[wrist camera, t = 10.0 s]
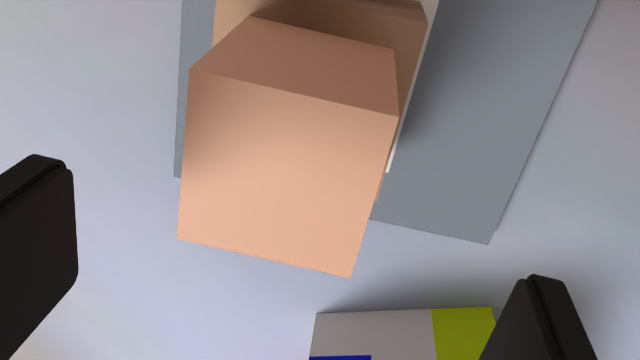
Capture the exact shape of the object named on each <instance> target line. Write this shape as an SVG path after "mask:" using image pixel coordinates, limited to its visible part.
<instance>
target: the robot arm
mask: <svg viewBox="0 0 640 360" xmlns="http://www.w3.org/2000/svg"><path fill="white" fill-rule="evenodd" d="M77 275H78V254H77V237H76V220H75V202H74V185H73V174H72V172H71V170H69V169H67V168H66V165H65V163H64V162H63V161H61V160H58V159H54V158H49V157H45V156H41V155H37V154H32V155H30V156H28V157H26V158H25V159H23V160H22V161H20V162H19V163H17V164H16V165H14V166H13V167H11V168H10V169H8V170H7V171H5V172H4V173H2V174H1V175H0V360H9V359H10V357H11V356H12V355H13V354H14V353H15V352H16V351H17V349H18V348H19V347H20V346H21V345H22V344H23V342H24V341H25V340H26V339H27V338H28V337H29V336H30V334H31V333H32V332H33V331H34V330H35V329H36V328H37V326H38V325H39V324H40V323H41V322H42V321H43V320H44V318H45V317H46V316H47V315H48V314H49V313H50V311H51V310H52V309H53V308H54V307H55V306H56V305H57V303H58V302H59V301H60V300H61V299H62V298H63V297H64V295H65V294H66V293H67V292H68V291H69V290H70V289H71V287H72V286H73V285H74V283H75V281H76V278H77ZM478 360H597V357H596V355H595V353H594V350H593V348H592V346H591V343H590V341H589V339H588V337H587V334H586V332H585V330H584V327H583V325H582V323H581V321H580V318H579V316H578V314H577V311H576V309H575V307H574V304H573V302H572V300H571V298H570V295H569V293H568V291H567V288H566V286H565V284H564V283H563V282H562V281H560V280H556V279H552V278H548V277H544V276H540V275H536V274H532V275H530V276H529V277H528V278H527V279H519V280H518V282H517V283H516V285H515V287H514V289H513V291H512V293H511V295H510V297H509V299H508V301H507V303H506V305H505V307H504V309H503V311H502V313H501V315H500V317H499V319H498V321H497V323H496V325H495V327H494V329H493V331H492V333H491V335H490V337H489V339H488V341H487V343H486V345H485V347H484V349H483V351H482V353H481V355H480V357H479V359H478Z"/></svg>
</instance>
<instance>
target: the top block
mask: <svg viewBox="0 0 640 360" xmlns="http://www.w3.org/2000/svg"><path fill="white" fill-rule="evenodd" d="M398 120H399V105H398V92H397V80H396V67H395V54H394V49H390V48H386V47H382V46H377V45H373V44H369V43H365V42H360V41H356V40H352V39H347V38H343V37H339V36H334V35H330V34H326V33H321V32H317V31H313V30H308V29H304V28H300V27H295V26H291V25H287V24H283V23H278V22H274V21H270V20H265V19H261V18H257V17H252V16H247V17H246V18H245V19H244V20H243V21H242V22H241V23H240V24H238V25H237V26H236V27H235V28H234V29H233V30H232V31H231V32H230V33H228V34H227V35H226V36H225V37H224V38H223V39H222V40H221V41H219V42H218V43H217V44H216V45H215V46H214V47H213V48H212V49H211V50H209V51H208V52H207V53H206V54H205V55H204V56H203V57H202V58H201V59H199V60H198V61H197V62H196V63H195V64H194V65H193V66H192V67H190V68H189V77H188V91H187V105H186V119H185V132H184V146H183V160H182V174H181V188H180V201H179V215H178V229H177V239H180V240H184V241H189V242H193V243H198V244H202V245H206V246H211V247H215V248H219V249H224V250H228V251H232V252H237V253H241V254H246V255H250V256H254V257H259V258H263V259H267V260H272V261H276V262H281V263H285V264H289V265H294V266H298V267H302V268H307V269H311V270H316V271H320V272H324V273H329V274H333V275H337V276H342V277H346V278H351V275H352V272H353V269H354V265H355V262H356V259H357V255H358V252H359V249H360V245H361V242H362V239H363V236H364V232H365V229H366V226H367V222H368V219H369V216H370V213H371V209H372V206H373V203H374V199H375V196H376V193H377V189H378V186H379V183H380V180H381V176H382V173H383V170H384V166H385V163H386V160H387V157H388V153H389V150H390V147H391V143H392V140H393V137H394V134H395V130H396V127H397V124H398Z"/></svg>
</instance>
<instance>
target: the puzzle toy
mask: <svg viewBox="0 0 640 360" xmlns="http://www.w3.org/2000/svg"><path fill="white" fill-rule="evenodd" d="M495 325H496V322H495V318H494V314H493V310H492V306H488V307H463V308H438V309H414V310H389V311H364V312H339V313H316V318H315V324H314V331H313V337H312V343H311V350H310V356H309V360H478V359H479V357H480V355H481V353H482V351H483V349H484V347H485V345H486V343H487V341H488V339H489V337H490V335H491V333H492V331H493V329H494V327H495Z"/></svg>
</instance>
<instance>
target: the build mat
mask: <svg viewBox="0 0 640 360" xmlns="http://www.w3.org/2000/svg"><path fill="white" fill-rule="evenodd" d="M416 1H420V2H421V4H422V7H423V10H424V13H425V15H426V18H427V21H428V28H427V31H426V34H425V38H424V41H423V45H422V48H421V52H420V55H419V58H418V62H417V65H416V69H415V72H414V76H413V79H412V82H411V86H410V89H409V93H408V96H407V100H406V103H405V106H404V110H403V113H402V117H401V120H400V124H399V127H398V130H397V134H396V137H395V141H394V144H393V148H392V151H391V155H390V158H389V161H388V165H387V168H386V172H385V175H384V179H383V182H382V185H381V189H380V192H379V196H378V199H377V202H374V203H373V206H372V209H371V213H370V216H369V219H370V220H375V221H379V222H384V223H389V224H393V225H398V226H402V227H407V228H412V229H416V230H421V231H425V232H430V233H434V234H439V235H444V236H448V237H453V238H457V239H462V240H466V241H471V242H476V243H480V244H485V245H489V243H490V240H491V238H492V236H493V234H494V231H495V229H496V227H497V225H498V222H499V220H500V218H501V216H502V213H503V211H504V209H505V207H506V204H507V202H508V200H509V198H510V196H511V193H512V191H513V189H514V187H515V184H516V182H517V180H518V178H519V175H520V173H521V171H522V169H523V166H524V164H525V162H526V160H527V158H528V155H529V153H530V151H531V149H532V146H533V144H534V142H535V140H536V137H537V135H538V133H539V131H540V128H541V126H542V124H543V122H544V119H545V117H546V115H547V113H548V111H549V108H550V106H551V104H552V102H553V99H554V97H555V95H556V93H557V90H558V88H559V86H560V84H561V81H562V79H563V77H564V75H565V72H566V70H567V68H568V66H569V64H570V61H571V59H572V57H573V55H574V52H575V50H576V48H577V46H578V43H579V41H580V39H581V37H582V34H583V32H584V30H585V28H586V25H587V23H588V21H589V19H590V17H591V14H592V12H593V10H594V8H595V5H596V3H597V1H598V0H416ZM215 6H216V0H182V17H181V38H180V58H179V78H178V99H177V119H176V139H175V159H174V177H178V178H181V174H182V160H183V146H184V132H185V119H186V105H187V91H188V77H189V68H190V67H192V66H193V65H194V64H195V63H196V62H197V61H198V60H199V59H201V58H202V57H203V56H204V55H205V54H206V53H207V52H208V51H209V50H211V49H212V43H213V31H214V18H215Z"/></svg>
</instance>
